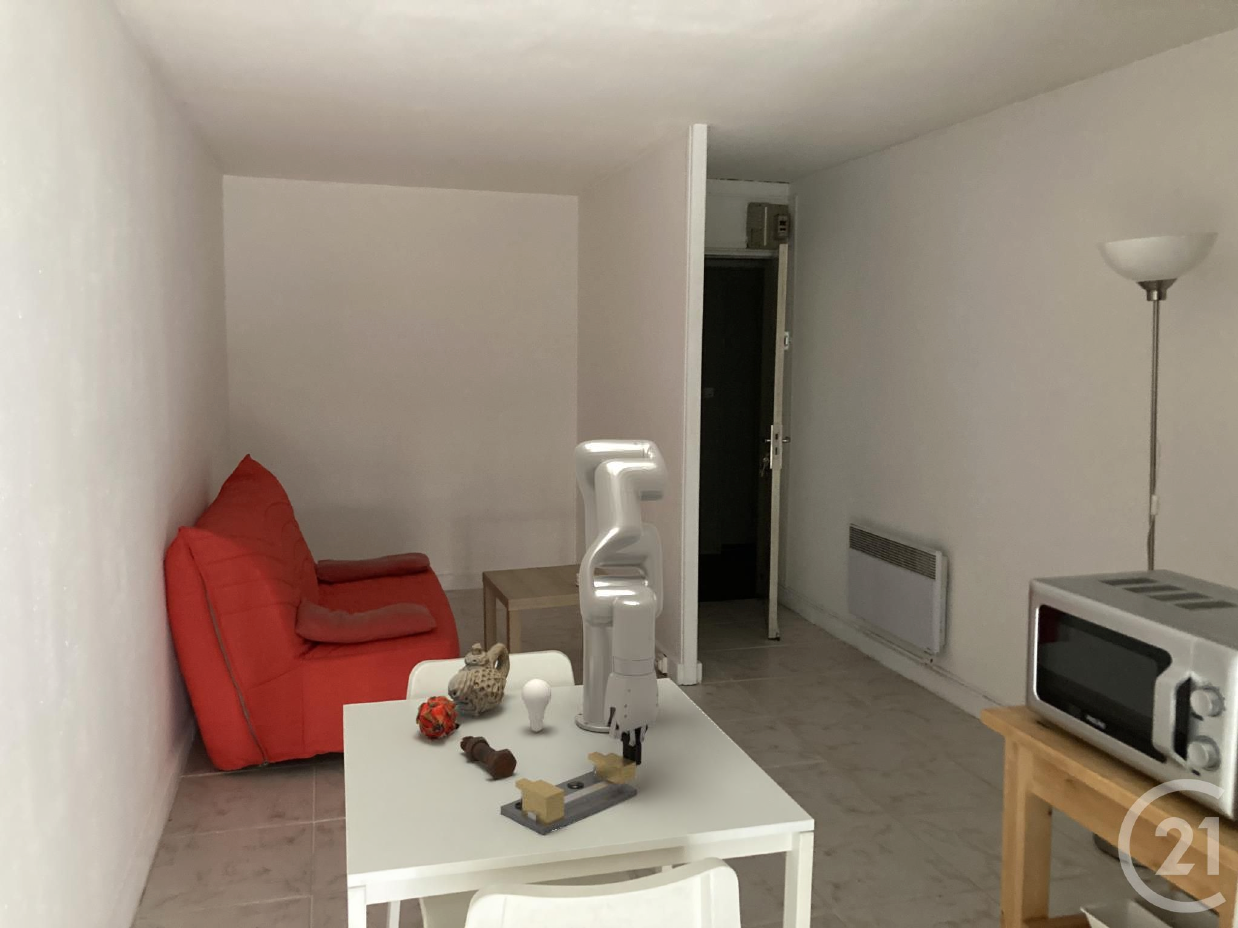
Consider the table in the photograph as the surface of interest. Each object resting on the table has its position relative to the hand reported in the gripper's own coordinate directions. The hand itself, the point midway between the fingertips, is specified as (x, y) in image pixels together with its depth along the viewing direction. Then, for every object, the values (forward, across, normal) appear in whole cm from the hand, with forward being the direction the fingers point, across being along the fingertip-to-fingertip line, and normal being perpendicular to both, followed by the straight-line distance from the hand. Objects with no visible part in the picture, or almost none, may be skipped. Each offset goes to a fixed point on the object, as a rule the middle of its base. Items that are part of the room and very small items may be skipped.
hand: (631, 763), depth 184 cm
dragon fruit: (+4, +11, -44) cm, 46 cm away
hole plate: (+4, +13, -2) cm, 14 cm away
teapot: (+4, -4, -50) cm, 50 cm away
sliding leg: (+2, +4, -2) cm, 5 cm away
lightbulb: (+4, -5, -32) cm, 33 cm away
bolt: (+5, +13, -26) cm, 29 cm away
